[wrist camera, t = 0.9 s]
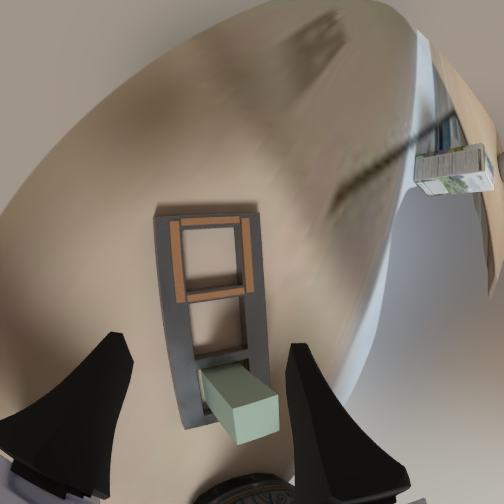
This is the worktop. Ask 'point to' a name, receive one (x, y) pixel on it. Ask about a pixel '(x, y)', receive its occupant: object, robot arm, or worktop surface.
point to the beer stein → (250, 491)
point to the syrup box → (455, 171)
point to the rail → (178, 299)
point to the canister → (501, 165)
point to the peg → (241, 402)
